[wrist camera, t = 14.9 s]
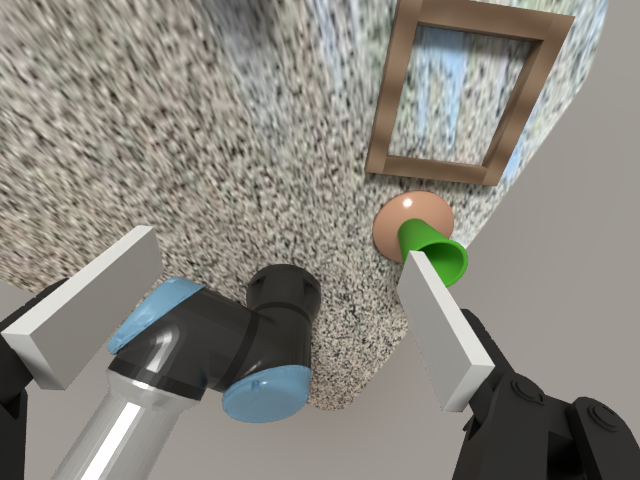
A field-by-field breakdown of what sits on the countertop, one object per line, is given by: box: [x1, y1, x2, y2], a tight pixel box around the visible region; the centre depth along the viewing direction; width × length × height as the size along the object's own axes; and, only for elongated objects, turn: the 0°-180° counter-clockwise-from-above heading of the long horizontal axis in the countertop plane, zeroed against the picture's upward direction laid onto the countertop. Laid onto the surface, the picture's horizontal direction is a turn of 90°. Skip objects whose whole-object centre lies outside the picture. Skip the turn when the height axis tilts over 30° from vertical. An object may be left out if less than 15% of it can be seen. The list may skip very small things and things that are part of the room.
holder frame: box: [364, 0, 575, 186], centre depth 37 cm, size 21×21×2 cm
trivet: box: [372, 190, 454, 263], centre depth 47 cm, size 14×14×1 cm
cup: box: [398, 218, 468, 288], centre depth 42 cm, size 9×9×11 cm
